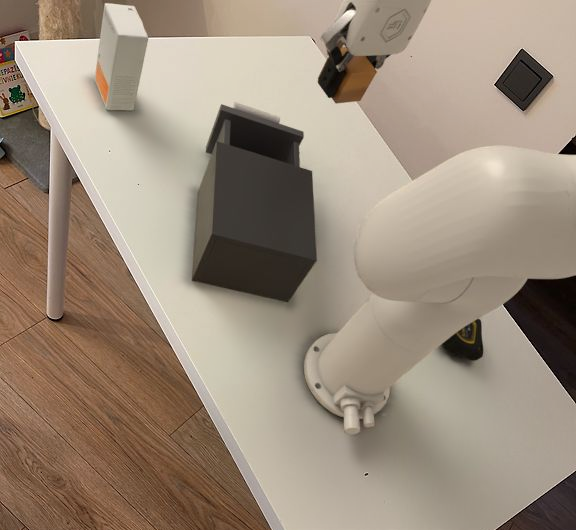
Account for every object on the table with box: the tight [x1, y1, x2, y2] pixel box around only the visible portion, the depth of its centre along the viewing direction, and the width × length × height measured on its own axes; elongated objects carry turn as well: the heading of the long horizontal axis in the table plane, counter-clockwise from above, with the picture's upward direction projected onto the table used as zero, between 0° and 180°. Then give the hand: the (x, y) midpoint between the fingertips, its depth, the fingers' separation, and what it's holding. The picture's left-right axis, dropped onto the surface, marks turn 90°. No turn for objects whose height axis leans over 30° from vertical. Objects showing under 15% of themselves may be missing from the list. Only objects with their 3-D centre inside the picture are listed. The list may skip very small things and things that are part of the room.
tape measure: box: [441, 318, 484, 362], centre depth 90 cm, size 7×7×4 cm
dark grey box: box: [205, 101, 305, 167], centre depth 85 cm, size 19×12×8 cm, turn 1°
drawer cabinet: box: [191, 141, 318, 303], centre depth 80 cm, size 16×14×10 cm
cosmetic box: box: [93, 2, 149, 111], centre depth 82 cm, size 6×4×12 cm
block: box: [317, 46, 378, 105], centre depth 78 cm, size 5×5×5 cm
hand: (340, 87), depth 80 cm, fingers closed on block, 4 cm apart
